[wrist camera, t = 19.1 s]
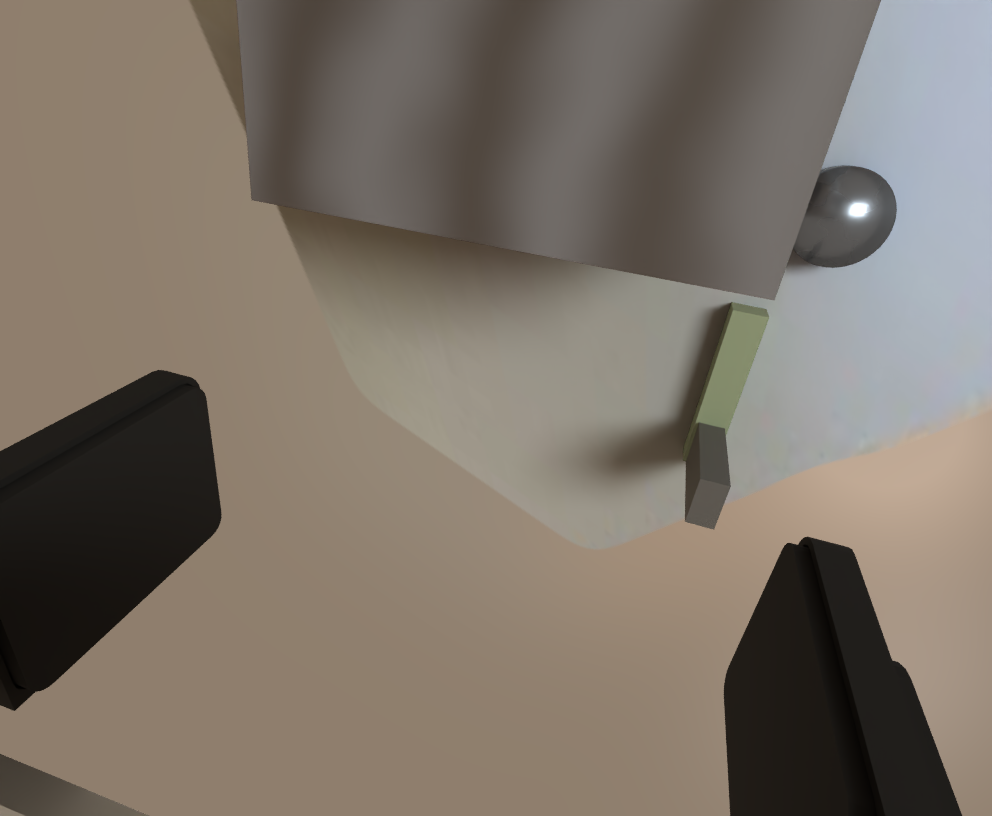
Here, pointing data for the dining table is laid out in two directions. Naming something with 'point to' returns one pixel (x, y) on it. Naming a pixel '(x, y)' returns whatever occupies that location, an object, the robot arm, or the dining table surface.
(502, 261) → the dining table surface
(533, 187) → the walnut cabinet
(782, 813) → the robot arm
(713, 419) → the scraper tool
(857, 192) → the grey rounded piece
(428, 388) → the dining table surface
